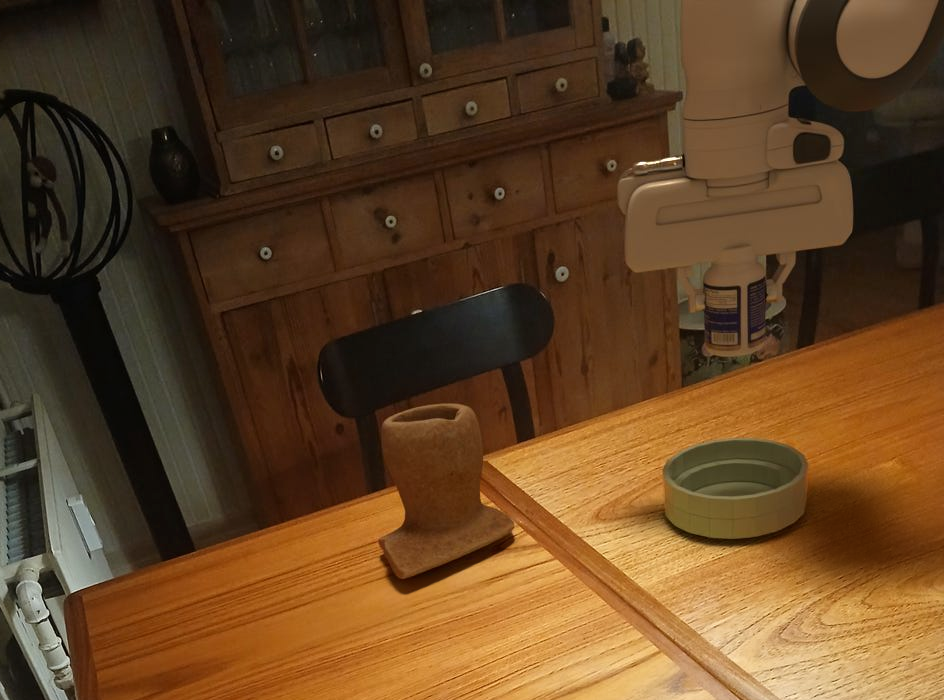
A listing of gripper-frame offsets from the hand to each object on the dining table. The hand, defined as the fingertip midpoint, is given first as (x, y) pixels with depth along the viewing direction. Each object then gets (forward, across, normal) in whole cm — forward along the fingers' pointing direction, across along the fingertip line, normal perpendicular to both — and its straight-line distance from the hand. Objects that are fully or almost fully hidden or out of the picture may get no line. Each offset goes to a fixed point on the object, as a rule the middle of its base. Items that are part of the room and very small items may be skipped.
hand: (734, 305), depth 94 cm
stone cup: (+20, -32, -5) cm, 38 cm away
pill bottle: (+4, 0, 0) cm, 4 cm away
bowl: (+20, 0, -3) cm, 21 cm away
